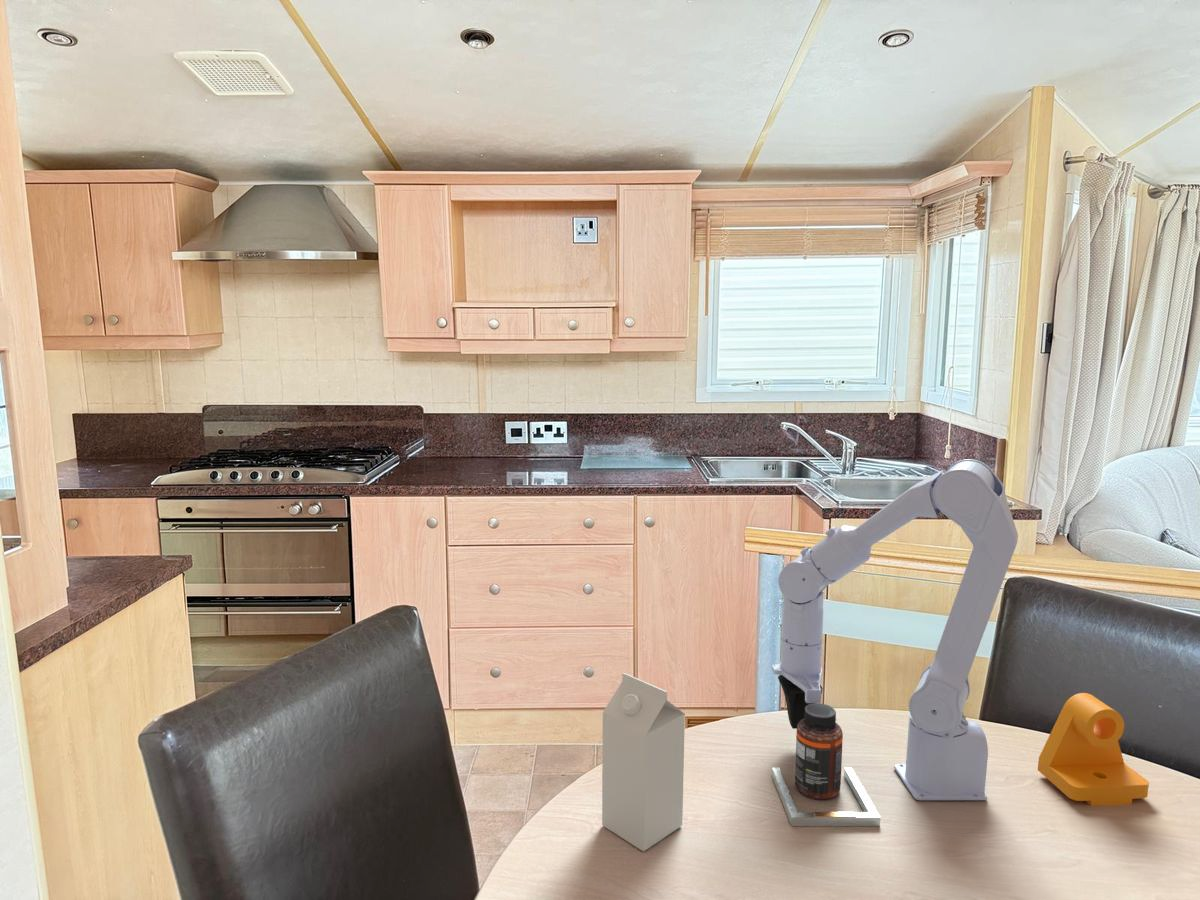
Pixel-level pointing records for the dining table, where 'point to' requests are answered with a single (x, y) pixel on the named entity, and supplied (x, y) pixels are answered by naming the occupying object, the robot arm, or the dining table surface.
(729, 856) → the dining table surface
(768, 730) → the dining table surface
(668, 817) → the milk carton
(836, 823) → the frame
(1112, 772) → the bracket
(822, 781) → the supplement bottle
